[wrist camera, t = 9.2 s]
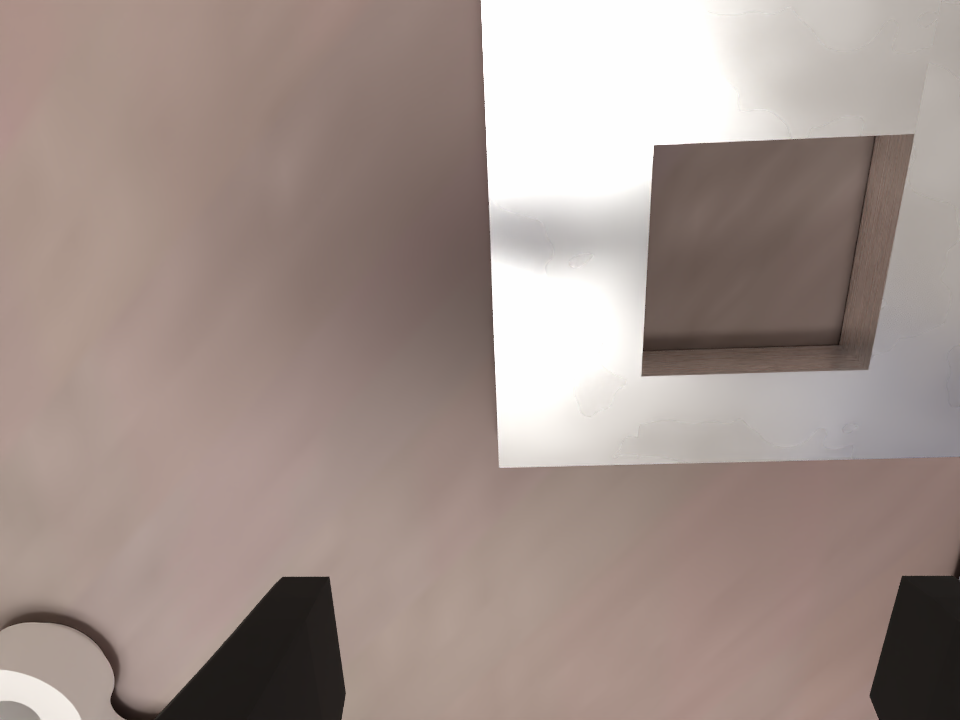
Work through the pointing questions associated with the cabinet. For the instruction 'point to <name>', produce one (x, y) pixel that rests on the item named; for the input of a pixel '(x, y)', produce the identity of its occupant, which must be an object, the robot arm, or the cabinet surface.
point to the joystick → (53, 675)
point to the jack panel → (626, 215)
